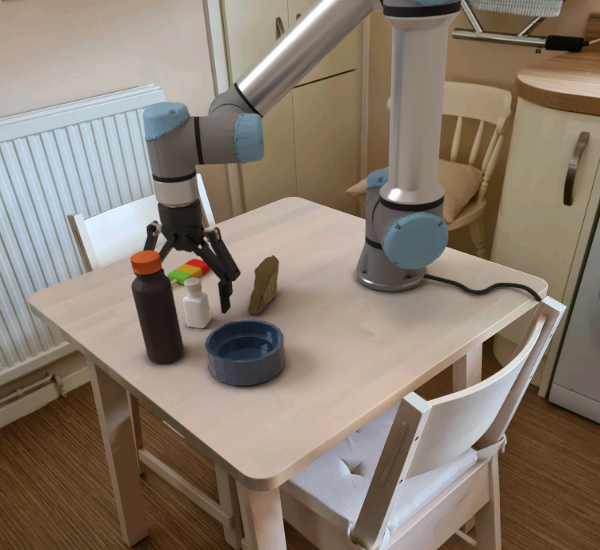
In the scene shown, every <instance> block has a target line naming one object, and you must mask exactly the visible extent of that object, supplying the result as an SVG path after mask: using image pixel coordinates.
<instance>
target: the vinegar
mask: <svg viewBox="0 0 600 550" xmlns="http://www.w3.org/2000/svg"><path fill="white" fill-rule="evenodd" d="M129 259H130V264H131V269H132V272H133V274H134V276H135V278H134V279H133V281H132V283H131V286H130V288H131V292H132V296H133V301H134V305H135V309H136V313H137V318H138V322H139V327H140V330H141V334H142V338H143V343H144V346H145V347H144V348H145V351H146V354H147V358H148V359H149V361H151V362H152V363H155V364H158V365H166V364H171V363H174V362H176V361H179V359H181V358H182V357H183V355H184V351H185V348H184V342H183V338H182V333H181V326H180V322H179V318H178V317H179V316H178V313H177V306H176V302H175V298H174V292H173V285H171V281H170V279H169V278H168V275H167V274H165V273H164V274H165V275H164V274H163V273H161V271H162V269H163V263H162V264H161V259H160V254H159V252H158V251H156V250H154V251H151V250H147V251H143V250H141V251H138V252H135V253H133V254H132V255H131V256H130V258H129Z"/></svg>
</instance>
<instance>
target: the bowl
mask: <svg viewBox="0 0 600 550" xmlns="http://www.w3.org/2000/svg"><path fill="white" fill-rule="evenodd" d="M204 347H205V354H206V359H207V366H208V370H209V373H210V374H211V375H212V376H213V378H215V379H217V381H220V382H222V383H225V384H228V385H233V386H253V385H257V384H261V383H264V382H267V381H269V380H271V379H273V378H274V377H276V376H277V375H278V374H279V373H281V372H282V370H283V368H284V367H285V365H286V350H285V349H286V348H285V336H284V333H283V331H282V330H281V328H279V327H278V326H277V325H275V323H271V322H269V321H266V320H260V319H253V318H252V319H238V320H233V321H228V322H226V323H223V324H221V325H219V326H217V327H216V328H215V329H213V330H212V331H210V333H209V334H208V336H206V339H205V343H204Z"/></svg>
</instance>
